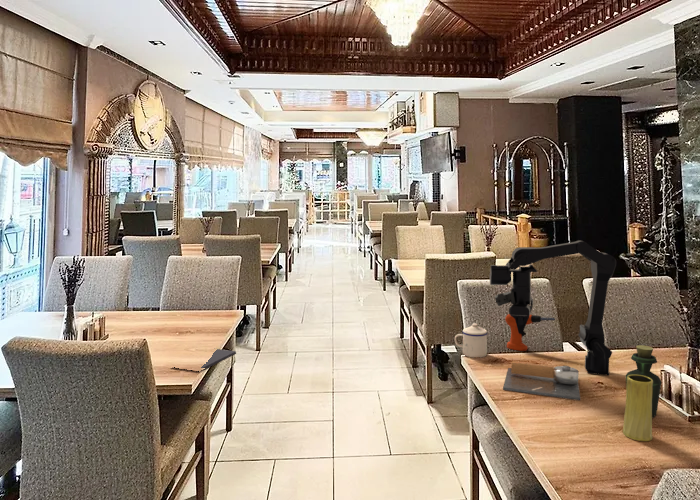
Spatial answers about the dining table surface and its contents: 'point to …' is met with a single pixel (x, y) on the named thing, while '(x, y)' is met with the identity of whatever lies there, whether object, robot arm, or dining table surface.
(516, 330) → the toy drill
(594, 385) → the dining table surface
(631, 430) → the vase
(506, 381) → the chuck base plate
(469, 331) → the teacup with lid
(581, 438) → the dining table surface
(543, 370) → the wooden bar
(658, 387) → the potion bottle
